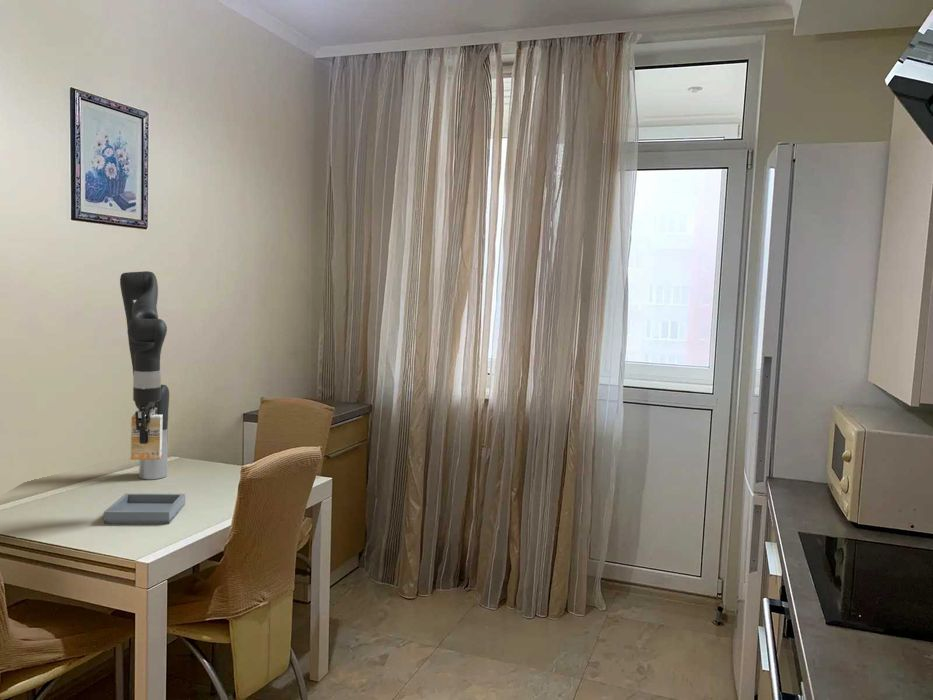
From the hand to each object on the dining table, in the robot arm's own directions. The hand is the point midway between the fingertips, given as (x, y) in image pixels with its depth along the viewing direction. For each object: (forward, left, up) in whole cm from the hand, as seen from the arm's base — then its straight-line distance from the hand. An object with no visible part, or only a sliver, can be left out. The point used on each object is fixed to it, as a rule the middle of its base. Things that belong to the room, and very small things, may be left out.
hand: (146, 440), depth 213 cm
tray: (0, 0, -23) cm, 23 cm away
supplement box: (0, 0, -6) cm, 6 cm away
